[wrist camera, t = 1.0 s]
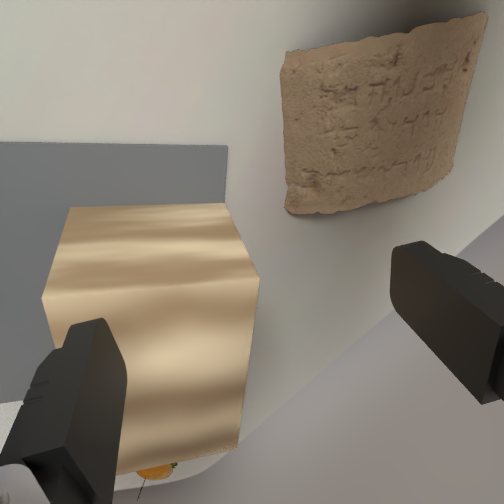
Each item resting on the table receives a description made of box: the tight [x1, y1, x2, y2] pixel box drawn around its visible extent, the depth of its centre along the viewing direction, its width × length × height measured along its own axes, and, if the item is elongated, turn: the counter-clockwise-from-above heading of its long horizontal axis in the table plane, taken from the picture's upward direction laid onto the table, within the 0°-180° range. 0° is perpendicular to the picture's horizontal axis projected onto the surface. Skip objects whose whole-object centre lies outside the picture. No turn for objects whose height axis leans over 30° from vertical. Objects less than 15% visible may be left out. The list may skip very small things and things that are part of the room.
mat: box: [0, 142, 228, 403], centre depth 26 cm, size 22×26×1 cm
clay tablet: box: [280, 12, 488, 214], centre depth 25 cm, size 16×11×3 cm
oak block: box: [41, 203, 260, 475], centre depth 25 cm, size 16×10×9 cm, turn 174°
